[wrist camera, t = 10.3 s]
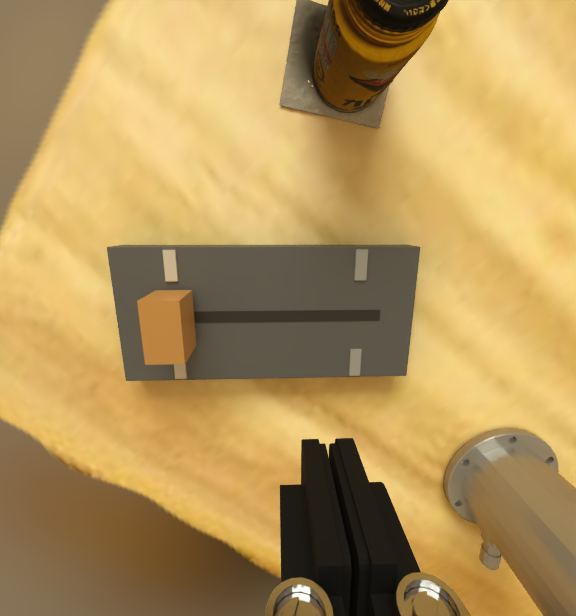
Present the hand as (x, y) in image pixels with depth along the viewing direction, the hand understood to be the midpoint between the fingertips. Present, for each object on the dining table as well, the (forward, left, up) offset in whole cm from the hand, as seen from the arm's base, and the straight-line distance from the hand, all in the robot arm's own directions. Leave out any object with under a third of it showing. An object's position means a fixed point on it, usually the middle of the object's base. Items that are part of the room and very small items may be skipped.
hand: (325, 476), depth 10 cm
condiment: (+20, -4, -21) cm, 29 cm away
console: (0, +2, -21) cm, 21 cm away
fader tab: (0, +10, -18) cm, 21 cm away
